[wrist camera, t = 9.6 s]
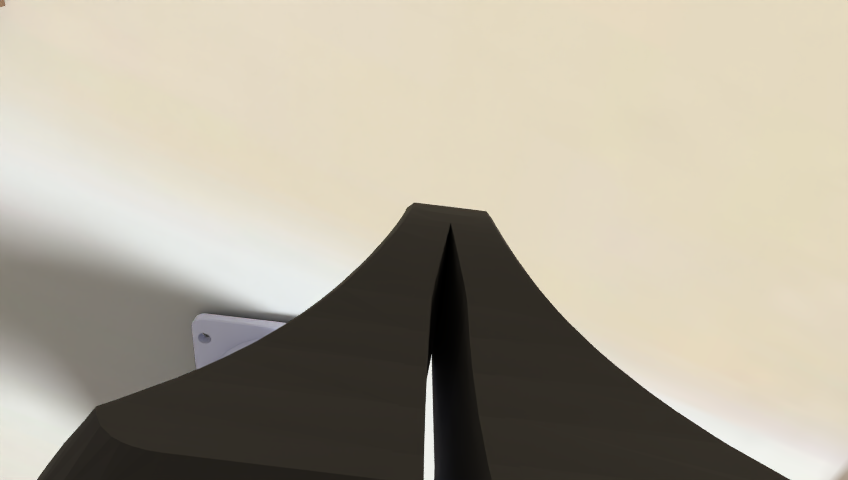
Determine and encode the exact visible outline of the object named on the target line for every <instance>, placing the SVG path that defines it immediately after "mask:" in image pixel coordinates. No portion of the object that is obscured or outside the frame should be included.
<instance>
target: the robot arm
mask: <svg viewBox="0 0 848 480" xmlns="http://www.w3.org/2000/svg"><path fill="white" fill-rule="evenodd" d="M191 327H192V336H193V345H194V354H195V363H196V370H195V371H192V372H190V373H187V374H185V375H183V376H180V377H178V378H175V379H172V380H170V381H167V382H164V383H161V384H159V385H156V386H153V387H150V388H148V389H145V390H142V391H139V392H137V393H134V394H131V395H128V396H126V397H123V398H120V399H117V400H115V401H111V402H108V403H105V404H102V405H99V406H96V407H95V408H94V409H93V411H92V412H91V413H90V414H89V416H88V417H87V418H86V419H85V421H84V422H83V423H82V424H81V425H80V426H79V427H78V428H77V430H76V431H75V432H74V433H73V434H72V435H71V436H70V437H69V439H68V440H67V441H66V442H65V443H64V444H63V446H62V447H61V448H60V449H59V451H58V452H57V453H56V455H55V456H54V457H53V459H52V460H51V461H50V462H49V464H48V465H47V466H46V468H45V469H44V471H43V472H42V473H41V475H40V476H39V478H38V479H37V480H424V434H425V403H426V381H427V375H428V370H429V365H430V360H431V355H432V385H433V424H434V462H435V473H434V480H790V479H788V478H786V477H784V476H783V475H781V474H779V473H777V472H775V471H774V470H772V469H770V468H768V467H767V466H765V465H763V464H761V463H759V462H758V461H756V460H754V459H752V458H751V457H749V456H747V455H745V454H744V453H742V452H740V451H738V450H736V449H735V448H733V447H731V446H729V445H728V444H726V443H724V442H723V441H721V440H719V439H718V438H716V437H715V436H713V435H712V434H710V433H709V432H707V431H706V430H704V429H702V428H701V427H699V426H698V425H696V424H695V423H693V422H692V421H690V420H689V419H687V418H686V417H684V416H683V415H681V414H680V413H678V412H677V411H675V410H674V409H672V408H671V407H669V406H668V405H667V404H665V403H664V402H662V401H661V400H660V399H658V398H657V397H655V396H654V395H653V394H651V393H650V392H648V391H647V390H646V389H645V388H643V387H642V386H641V385H639V384H638V383H637V382H636V381H634V380H633V379H632V378H631V377H629V376H628V375H627V374H626V373H624V372H623V371H622V370H621V369H619V368H618V367H617V366H615V365H614V364H613V363H612V362H611V361H610V360H608V359H607V358H606V357H605V356H604V355H603V354H601V353H600V352H599V351H598V350H597V349H596V348H595V347H594V346H593V345H592V344H590V343H589V342H588V341H587V340H586V339H585V338H584V337H583V336H582V335H581V334H580V333H579V332H578V331H577V330H576V329H575V328H574V327H573V326H572V325H571V324H570V323H569V322H568V321H567V320H566V319H565V318H564V317H563V316H562V315H561V314H560V313H559V312H558V311H557V310H556V308H555V307H554V306H553V305H552V304H551V303H550V301H549V300H548V299H547V298H546V297H545V296H544V294H543V293H542V292H541V291H540V290H539V288H538V287H537V286H536V285H535V283H534V282H533V281H532V279H531V278H530V276H529V275H528V274H527V272H526V271H525V270H524V268H523V267H522V265H521V264H520V263H519V261H518V260H517V258H516V257H515V255H514V254H513V252H512V251H511V249H510V248H509V246H508V245H507V243H506V242H505V240H504V238H503V237H502V235H501V234H500V232H499V230H498V229H497V227H496V225H495V223H494V222H493V220H492V218H491V217H490V216H489V214H488V213H487V212H486V211H479V210H471V209H462V208H454V207H446V206H438V205H430V204H421V203H413V204H412V205H410V206H409V207H408V208H407V209H406V211H405V213H404V214H403V216H402V217H401V219H400V220H399V222H398V223H397V225H396V226H395V227H394V228H393V230H392V231H391V232H390V233H389V235H388V236H387V237H386V238H385V239H384V240H383V242H382V243H381V244H380V245H379V246H378V247H377V248H376V249H375V250H374V252H373V253H372V254H371V255H370V256H369V257H368V258H367V259H366V260H365V261H364V262H363V263H362V264H361V265H360V266H359V267H358V268H357V269H356V270H354V271H353V272H352V273H351V274H350V275H349V276H348V277H347V278H346V279H345V280H344V281H343V282H342V283H340V284H339V285H338V286H337V287H336V288H335V289H333V290H332V291H331V292H330V293H328V294H327V295H326V296H325V297H323V298H322V299H321V300H320V301H318V302H317V303H315V304H314V305H313V306H311V307H310V308H309V309H307V310H306V311H305V312H303V313H302V314H300V315H299V316H297V317H296V318H294V319H293V320H291V321H289V322H288V323H283V322H274V321H266V320H257V319H249V318H241V317H232V316H224V315H215V314H207V313H202V314H199V315H197V316H196V317H195V319H194V320H193V322H192V326H191ZM202 333H205V334H208V335H209V336H210V337H206V336H204V335H203V334H202Z"/></svg>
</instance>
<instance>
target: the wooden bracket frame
mask: <svg viewBox="0 0 848 480" xmlns="http://www.w3.org/2000/svg"><path fill="white" fill-rule="evenodd" d="M2 6H5V2H4V0H0V7H2Z"/></svg>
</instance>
